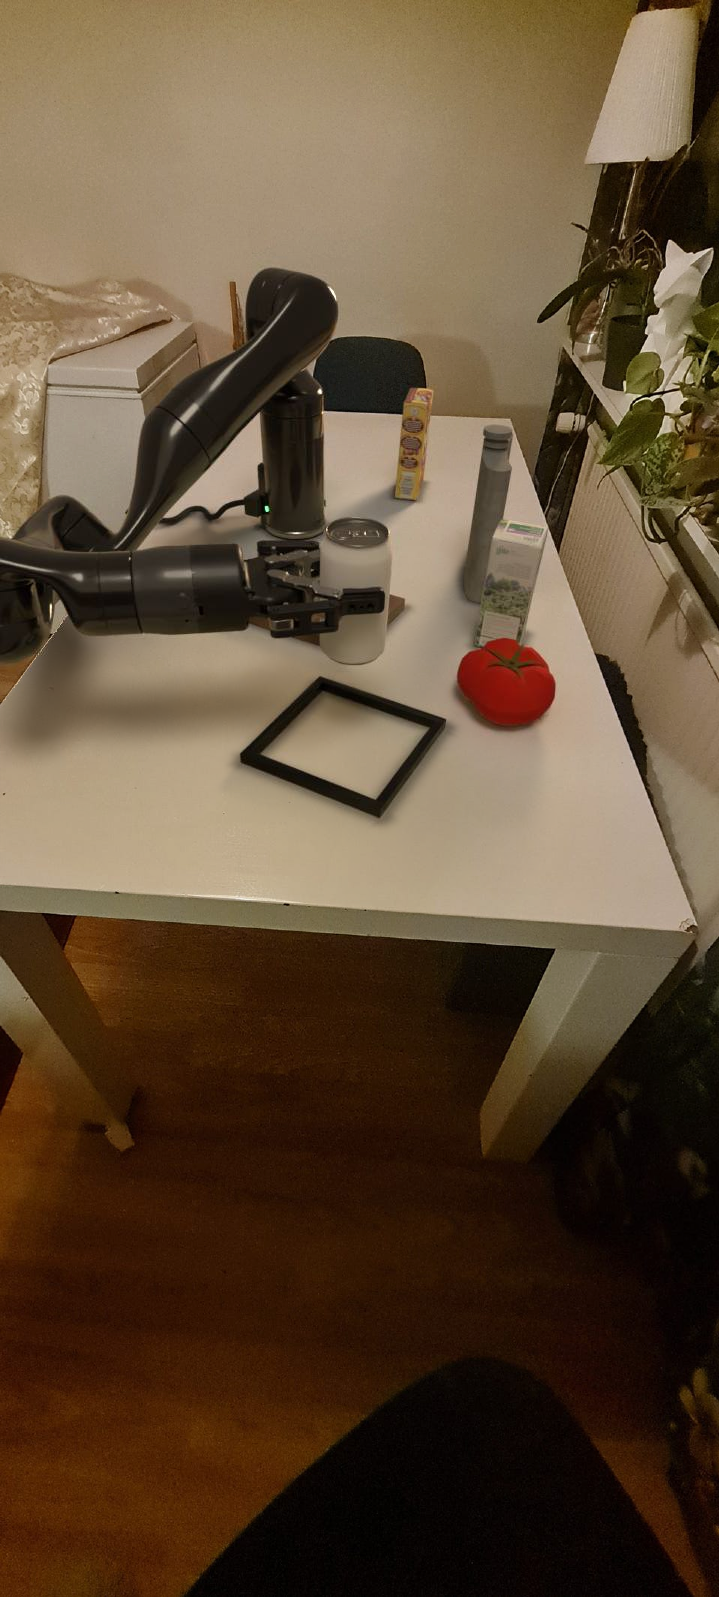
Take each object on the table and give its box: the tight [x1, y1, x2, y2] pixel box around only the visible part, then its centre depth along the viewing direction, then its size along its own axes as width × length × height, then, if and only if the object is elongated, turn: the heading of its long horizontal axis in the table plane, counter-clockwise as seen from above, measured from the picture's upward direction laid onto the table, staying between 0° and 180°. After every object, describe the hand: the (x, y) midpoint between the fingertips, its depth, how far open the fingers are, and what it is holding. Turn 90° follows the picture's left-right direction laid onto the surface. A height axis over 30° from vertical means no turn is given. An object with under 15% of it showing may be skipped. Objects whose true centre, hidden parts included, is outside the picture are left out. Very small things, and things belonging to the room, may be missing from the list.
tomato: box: [456, 638, 557, 727], centre depth 78 cm, size 10×11×6 cm
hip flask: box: [463, 424, 514, 604], centre depth 96 cm, size 16×4×20 cm, turn 170°
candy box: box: [394, 387, 434, 501], centre depth 120 cm, size 9×4×15 cm, turn 169°
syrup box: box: [474, 518, 549, 648], centre depth 86 cm, size 6×6×14 cm
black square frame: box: [239, 675, 447, 819], centre depth 74 cm, size 16×16×1 cm
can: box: [319, 516, 394, 666], centre depth 66 cm, size 6×6×12 cm
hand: (375, 580), depth 65 cm, fingers closed on can, 6 cm apart
